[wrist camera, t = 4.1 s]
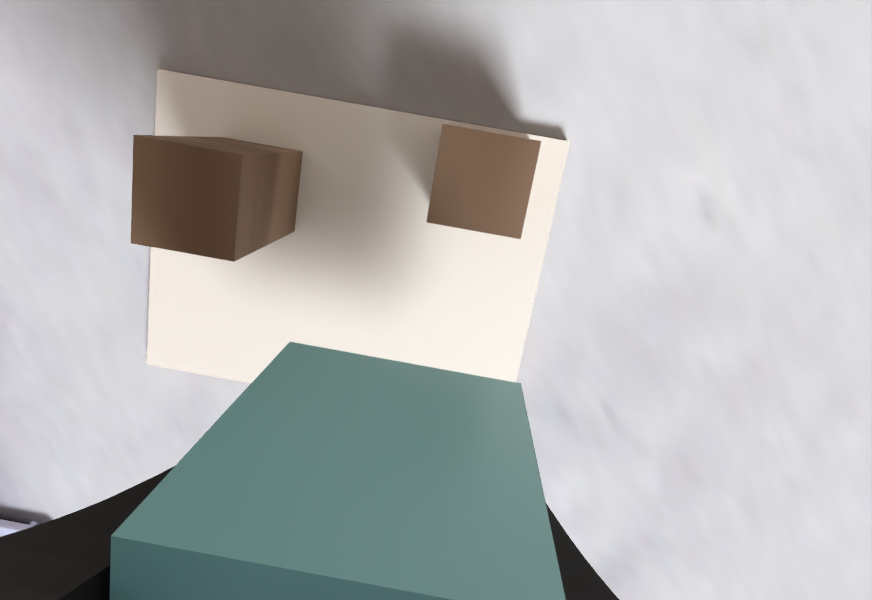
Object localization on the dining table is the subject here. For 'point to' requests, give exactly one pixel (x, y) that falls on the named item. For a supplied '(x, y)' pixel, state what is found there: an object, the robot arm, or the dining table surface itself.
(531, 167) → the tan block
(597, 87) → the dining table surface
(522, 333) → the board
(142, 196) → the post
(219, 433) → the teal block
